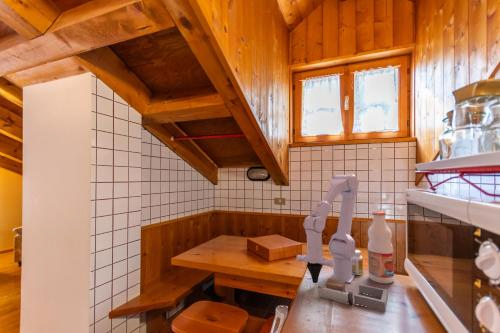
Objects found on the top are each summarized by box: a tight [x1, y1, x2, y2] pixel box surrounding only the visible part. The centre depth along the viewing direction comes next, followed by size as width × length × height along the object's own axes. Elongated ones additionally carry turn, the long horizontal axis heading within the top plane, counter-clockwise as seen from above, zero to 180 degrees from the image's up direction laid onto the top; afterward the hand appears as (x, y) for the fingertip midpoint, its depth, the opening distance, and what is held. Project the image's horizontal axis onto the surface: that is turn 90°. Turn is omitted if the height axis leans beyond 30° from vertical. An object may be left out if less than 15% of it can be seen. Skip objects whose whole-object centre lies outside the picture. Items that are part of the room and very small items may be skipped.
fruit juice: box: [367, 210, 395, 284], centre depth 105 cm, size 9×9×28 cm
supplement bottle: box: [351, 249, 364, 276], centre depth 112 cm, size 5×5×10 cm
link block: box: [325, 278, 346, 292], centre depth 93 cm, size 5×6×4 cm
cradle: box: [353, 283, 389, 313], centre depth 87 cm, size 10×9×3 cm
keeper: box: [317, 286, 354, 307], centre depth 87 cm, size 12×1×4 cm, turn 57°
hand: (315, 282), depth 98 cm, fingers closed
